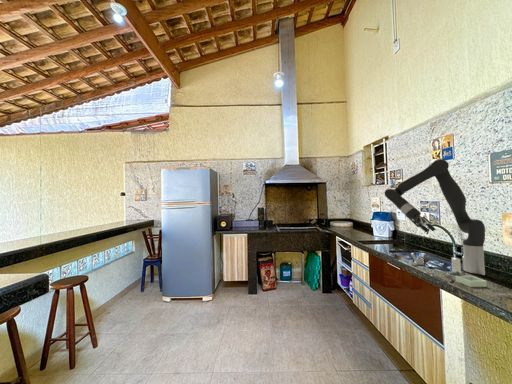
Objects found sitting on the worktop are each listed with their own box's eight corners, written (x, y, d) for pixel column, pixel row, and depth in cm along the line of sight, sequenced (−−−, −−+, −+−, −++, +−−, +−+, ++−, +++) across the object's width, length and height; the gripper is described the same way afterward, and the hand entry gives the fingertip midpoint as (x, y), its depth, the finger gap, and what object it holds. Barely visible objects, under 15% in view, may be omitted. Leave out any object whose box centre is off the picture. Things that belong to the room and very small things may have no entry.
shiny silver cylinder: (449, 277, 133) (448, 257, 134) (457, 277, 133) (456, 257, 134) (456, 279, 129) (455, 259, 129) (464, 279, 129) (463, 259, 129)
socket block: (445, 278, 135) (444, 272, 135) (457, 278, 135) (457, 272, 135) (456, 283, 127) (455, 277, 127) (469, 282, 127) (469, 276, 127)
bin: (455, 283, 127) (455, 275, 127) (471, 283, 127) (471, 275, 127) (470, 289, 118) (469, 281, 118) (487, 289, 118) (486, 281, 118)
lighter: (422, 264, 165) (421, 252, 165) (423, 264, 163) (422, 253, 164) (411, 263, 166) (410, 252, 167) (412, 264, 165) (411, 253, 165)
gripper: (408, 207, 146) (430, 227, 136) (419, 207, 154) (441, 226, 143) (400, 215, 151) (420, 235, 140) (411, 214, 158) (431, 233, 148)
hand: (431, 230), depth 142 cm, fingers open, 8 cm apart
